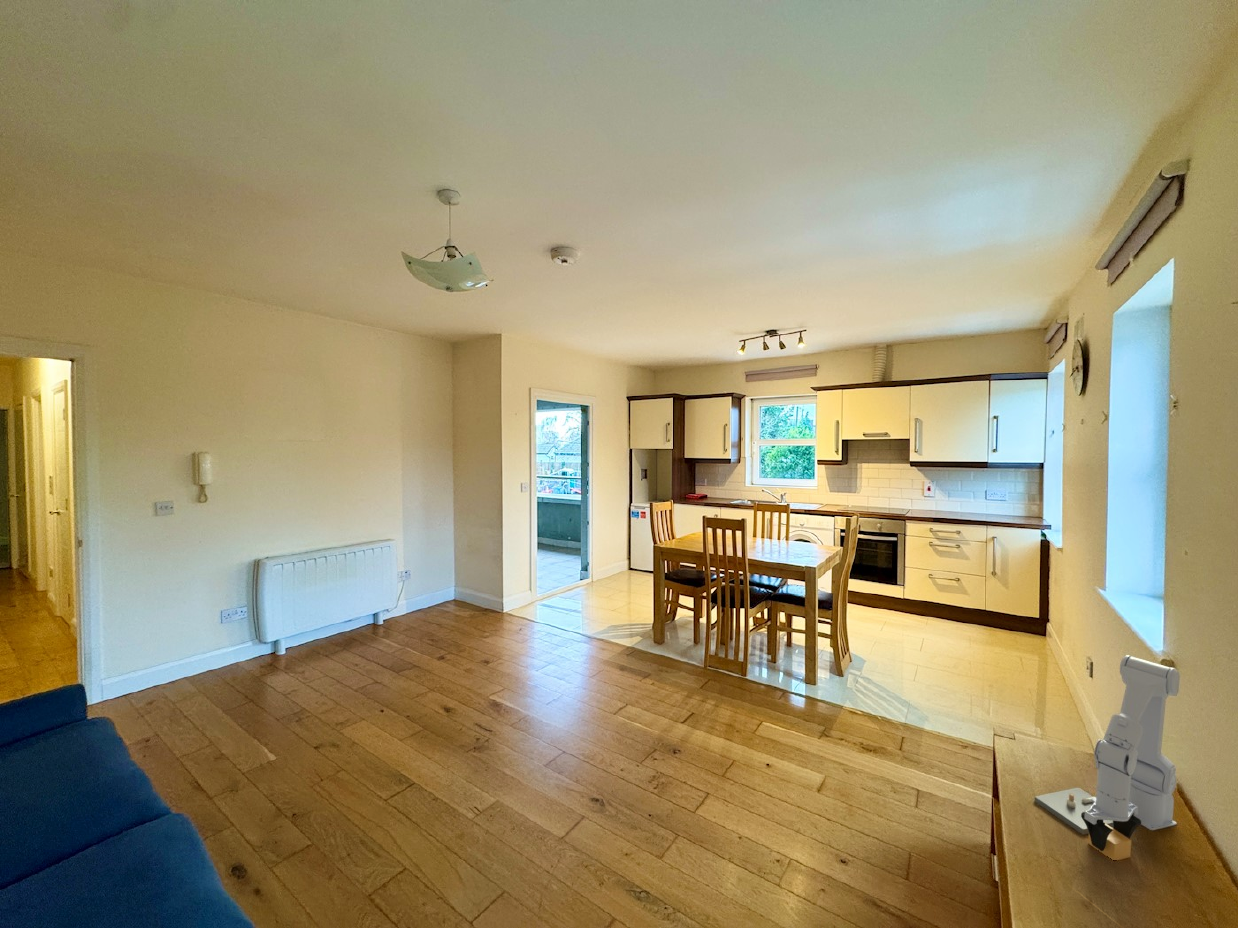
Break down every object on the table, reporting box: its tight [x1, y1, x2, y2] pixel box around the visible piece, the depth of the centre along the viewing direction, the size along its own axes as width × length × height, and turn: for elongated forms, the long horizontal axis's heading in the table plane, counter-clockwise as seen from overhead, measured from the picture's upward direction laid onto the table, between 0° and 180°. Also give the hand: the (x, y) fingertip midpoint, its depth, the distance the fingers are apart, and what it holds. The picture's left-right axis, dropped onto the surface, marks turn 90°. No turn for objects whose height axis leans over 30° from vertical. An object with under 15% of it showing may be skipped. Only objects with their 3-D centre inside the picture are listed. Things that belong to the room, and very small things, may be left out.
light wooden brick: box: [1087, 823, 1132, 861], centre depth 124 cm, size 5×5×4 cm
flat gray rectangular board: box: [1034, 787, 1114, 836], centre depth 136 cm, size 16×12×4 cm
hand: (1109, 844), depth 124 cm, fingers open, 7 cm apart
